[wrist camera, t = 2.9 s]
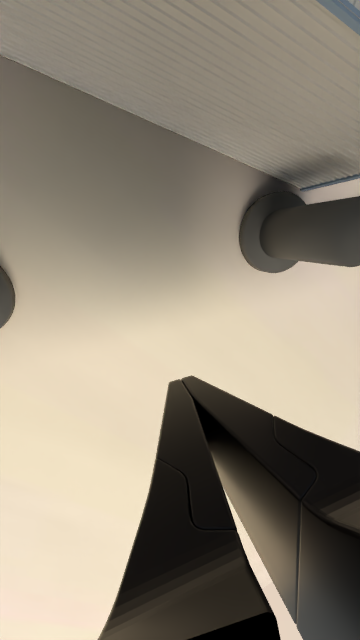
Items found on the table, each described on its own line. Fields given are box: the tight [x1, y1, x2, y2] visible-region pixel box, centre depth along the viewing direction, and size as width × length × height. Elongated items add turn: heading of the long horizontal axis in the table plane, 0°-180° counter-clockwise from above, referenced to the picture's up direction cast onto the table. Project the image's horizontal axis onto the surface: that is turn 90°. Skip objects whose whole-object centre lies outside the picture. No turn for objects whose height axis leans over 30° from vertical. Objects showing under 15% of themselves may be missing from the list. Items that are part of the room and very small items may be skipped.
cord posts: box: [0, 191, 360, 328], centre depth 10 cm, size 8×24×5 cm, turn 99°
